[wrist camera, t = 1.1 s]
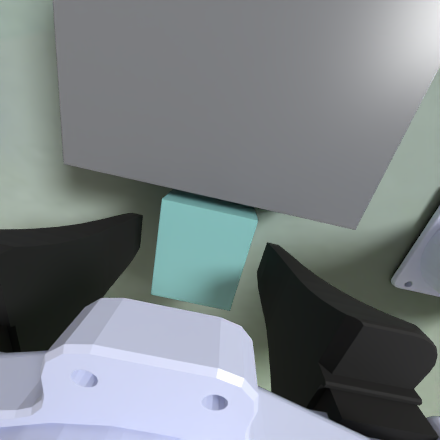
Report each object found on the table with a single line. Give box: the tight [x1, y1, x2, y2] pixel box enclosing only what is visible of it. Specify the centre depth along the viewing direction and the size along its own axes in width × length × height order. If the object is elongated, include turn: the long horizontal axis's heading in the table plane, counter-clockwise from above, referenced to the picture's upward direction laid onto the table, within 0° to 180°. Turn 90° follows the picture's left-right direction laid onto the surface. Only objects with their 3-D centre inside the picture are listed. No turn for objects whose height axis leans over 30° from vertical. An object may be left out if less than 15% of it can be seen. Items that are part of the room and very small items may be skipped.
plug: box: [151, 189, 258, 311], centre depth 10 cm, size 4×13×5 cm, turn 167°
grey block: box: [53, 0, 440, 230], centre depth 9 cm, size 12×10×5 cm
